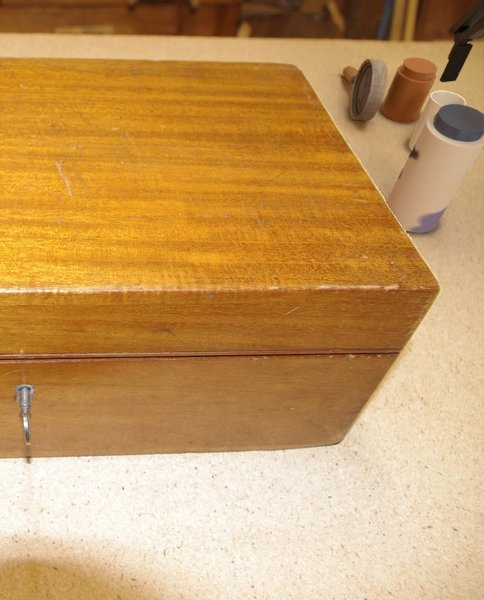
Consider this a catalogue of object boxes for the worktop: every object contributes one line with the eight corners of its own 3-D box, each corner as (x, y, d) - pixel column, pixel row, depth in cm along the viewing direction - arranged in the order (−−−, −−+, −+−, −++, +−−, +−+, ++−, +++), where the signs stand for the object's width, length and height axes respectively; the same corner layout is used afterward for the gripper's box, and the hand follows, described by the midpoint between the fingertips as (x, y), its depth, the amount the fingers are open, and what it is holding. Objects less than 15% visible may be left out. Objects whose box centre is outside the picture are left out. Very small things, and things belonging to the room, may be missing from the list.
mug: (442, 160, 149) (468, 110, 140) (408, 155, 150) (433, 105, 141) (435, 133, 155) (460, 84, 146) (403, 129, 156) (426, 80, 147)
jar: (423, 113, 161) (446, 66, 152) (406, 126, 157) (429, 78, 148) (391, 99, 165) (411, 52, 156) (374, 111, 161) (394, 64, 152)
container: (386, 193, 140) (430, 106, 125) (439, 208, 137) (490, 121, 122) (378, 223, 134) (424, 135, 119) (433, 239, 131) (487, 152, 116)
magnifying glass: (349, 43, 168) (377, 65, 146) (362, 44, 167) (392, 67, 146) (334, 97, 174) (359, 126, 153) (346, 98, 174) (373, 128, 153)
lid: (423, 117, 123) (428, 106, 121) (464, 112, 124) (470, 101, 122) (451, 144, 118) (457, 134, 116) (493, 138, 119) (499, 128, 117)
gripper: (463, -60, 110) (409, 66, 125) (580, 11, 93) (501, 146, 108) (506, -63, 111) (447, 62, 126) (628, 6, 94) (543, 140, 110)
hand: (471, 101), depth 117 cm, fingers open, 13 cm apart
